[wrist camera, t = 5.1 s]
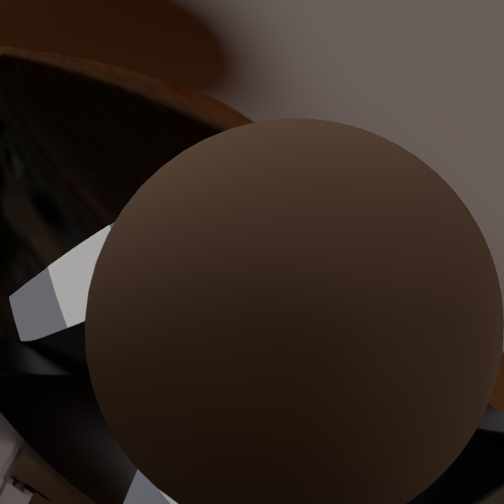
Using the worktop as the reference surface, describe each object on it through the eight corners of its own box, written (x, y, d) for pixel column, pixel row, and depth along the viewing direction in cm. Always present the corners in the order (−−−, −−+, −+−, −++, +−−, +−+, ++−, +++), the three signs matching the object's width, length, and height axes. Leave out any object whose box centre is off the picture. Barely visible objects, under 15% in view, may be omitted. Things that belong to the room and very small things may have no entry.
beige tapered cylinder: (323, 355, 15) (540, 350, 2) (248, 402, 14) (244, 587, 1) (276, 283, 16) (354, 79, 3) (202, 328, 15) (32, 240, 3)
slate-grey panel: (289, 493, 14) (290, 498, 13) (146, 543, 12) (144, 547, 11) (124, 221, 20) (120, 217, 19) (13, 298, 18) (8, 296, 17)
